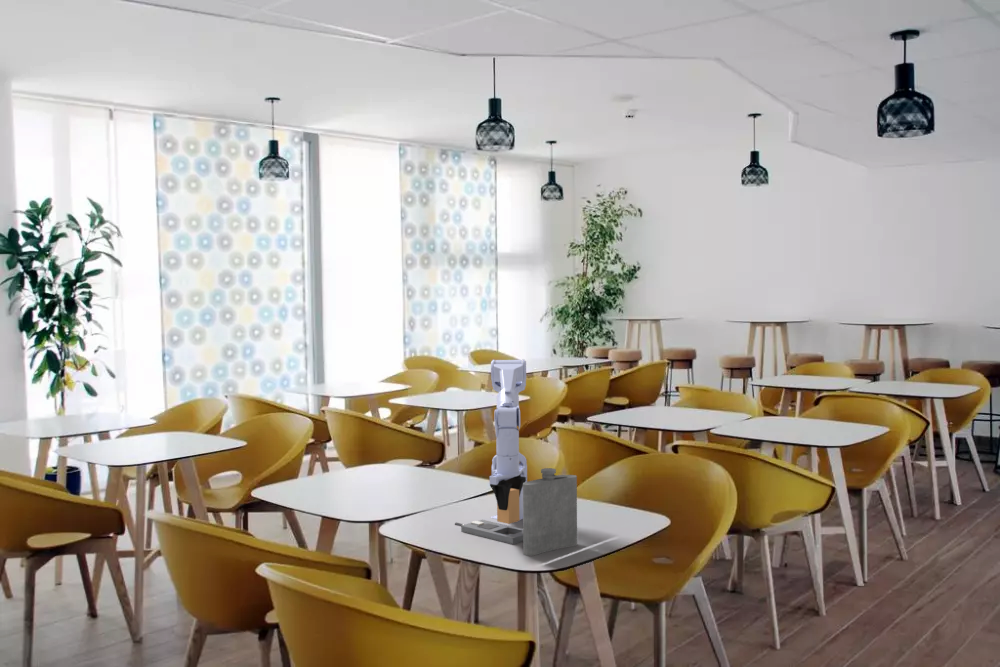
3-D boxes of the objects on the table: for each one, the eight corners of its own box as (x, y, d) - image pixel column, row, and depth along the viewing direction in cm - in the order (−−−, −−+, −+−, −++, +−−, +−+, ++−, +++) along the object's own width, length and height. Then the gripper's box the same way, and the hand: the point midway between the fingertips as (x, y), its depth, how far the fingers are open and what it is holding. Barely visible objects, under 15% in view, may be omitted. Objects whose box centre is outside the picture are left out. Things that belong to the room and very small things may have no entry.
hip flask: (528, 558, 211) (528, 474, 210) (518, 554, 214) (517, 472, 213) (579, 546, 220) (579, 466, 219) (569, 543, 224) (568, 463, 223)
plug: (507, 518, 230) (507, 487, 230) (519, 520, 227) (519, 489, 227) (497, 521, 227) (496, 490, 227) (508, 524, 225) (508, 492, 224)
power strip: (466, 523, 243) (466, 514, 243) (533, 539, 227) (533, 529, 227) (445, 529, 237) (445, 520, 237) (512, 546, 221) (512, 536, 221)
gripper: (509, 448, 235) (509, 499, 235) (478, 457, 222) (479, 511, 223) (532, 450, 231) (532, 502, 232) (503, 460, 219) (503, 515, 219)
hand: (508, 507), depth 227 cm, fingers closed on plug, 5 cm apart
